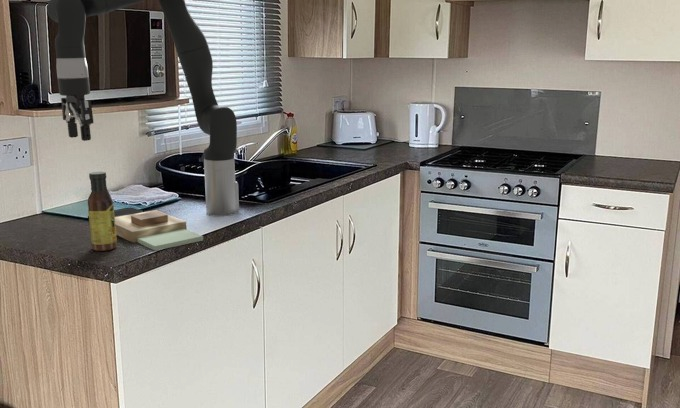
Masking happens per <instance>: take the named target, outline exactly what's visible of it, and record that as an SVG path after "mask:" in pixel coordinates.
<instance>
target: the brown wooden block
mask: <svg viewBox="0 0 680 408" xmlns="http://www.w3.org/2000/svg"><path fill="white" fill-rule="evenodd" d="M158 211H159V210H157V211H155V212H149V213H144V214H138V215H132V216H131V223H133V224H136V225H138V226H140V227H144V226H149V225H154V224H160V223H165V222H168V215H169V214H168V215H166V214H167V213H165V214H164V212H162V211H160V212H158ZM161 212H162V213H161Z"/></svg>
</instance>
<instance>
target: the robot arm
mask: <svg viewBox="0 0 680 408" xmlns="http://www.w3.org/2000/svg"><path fill="white" fill-rule="evenodd" d="M144 1H146V0H49V2H48V3H47V6H46V10H47V11H46V12H47V15H48V17H49V18H50V20H51V21H53V22H55V23H56V24H57V31H58V33H57V35H56V36H55V38H54V48H55V49H54V50H55V57H56V64H55V65H56V68H55V69H56V76H57V84H58V93H59V95H61V96H62V97H61V98H60V101H61V112H62V119H63V121H65V123H66V124H67V130H68V137H69V138H71V139H72V138H77V137H78V136H79V132H78V131H79V130H78V125H79V128H80V138H81V140H82V141H84V142H86V141H91V139H92V136H91V127H90V126H91V125H92V124H94V115H93V109H92V101H91V100H90V99H86V98H85V95H89V94H91V87H90V86H91V84H90V77H89V68H88V63H87V58H86V49H85V47H86V46H85V32H86V31H85V30H86V18H88V17H93V16H99V15H104V14H107V13H111V12H115V11H117V10H120V9H124V8H126V7H129V6H131V5H136V4H138V3H141V2H144ZM157 1H158V3H159V5H160V8H161V10H162V11H163V12H162V13H163V15H164V17H165V20H166V23H167V26H168V30H169V33H170V35H171V38H172V40H173V43H174V47H175V52H176V54H177V58H178V60H179V63H180V66H181V68H182V72H183V74H184V78H185V80H186V83H187V86H188V88H189V89H188V90H189V92H190V96H191V98H192V99H191V100H192V105H193V109H194V113H195V118H196V122H197V124H198V127H199V129H200V130H201V132H203V133H204V134H206V135H208V136H209V145H208V146H207V147H205V148H204V149H203V168H204V170H203V171H204V188H205V190H204V191H205V210H206V211H205V212H206V215H208V216H212V217H224V216H231V215H235V214H236V213H238V212H240V203H239V202H240V200H239V182H238V181H236V170H235V169H236V168H235V167H236V166H235V152H236V150H237V143H238V139H237V137H238V130H237V129H238V126H237V125H238V124H237V123H238V122H237V117H236V115H235V112H234V111H233V110H232V108H230V107H228V106H225V105H224V106H223V105H220V104H219V103H218V101H217V99H216V95H215V93H214V89H213V85H212V84H213V81H212V79H213V67H214V66H213V65H214V64H213V57H212V53H211V51H210V47H209V43H208V41H207V38H206V36H205V34H204V33H203V31H202V29H201V28H200V26H199V24H197V22H196V21H195V19H194V18H193V17H192V15H191V13H190V12H189V10H188V8H187V7H188V6H187V4H186V1H185V0H157ZM63 96H64V97H63ZM77 122H78V123H79V124H78V123H77Z"/></svg>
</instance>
